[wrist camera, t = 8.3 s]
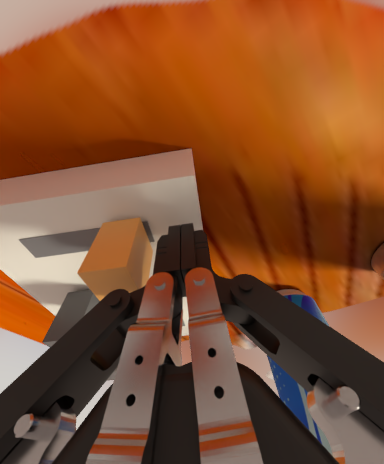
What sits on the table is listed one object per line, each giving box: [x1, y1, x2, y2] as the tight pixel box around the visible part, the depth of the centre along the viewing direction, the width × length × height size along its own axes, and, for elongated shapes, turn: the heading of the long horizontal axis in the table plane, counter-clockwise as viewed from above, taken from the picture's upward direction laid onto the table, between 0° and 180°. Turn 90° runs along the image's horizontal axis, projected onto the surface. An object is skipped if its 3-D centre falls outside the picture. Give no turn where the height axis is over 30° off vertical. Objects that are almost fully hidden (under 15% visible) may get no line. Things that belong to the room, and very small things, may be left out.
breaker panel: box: [0, 148, 203, 336], centre depth 20 cm, size 16×20×5 cm
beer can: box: [267, 289, 333, 456], centre depth 23 cm, size 8×8×16 cm
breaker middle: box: [43, 290, 100, 347], centre depth 16 cm, size 2×3×4 cm
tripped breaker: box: [77, 217, 153, 301], centre depth 12 cm, size 2×3×4 cm
